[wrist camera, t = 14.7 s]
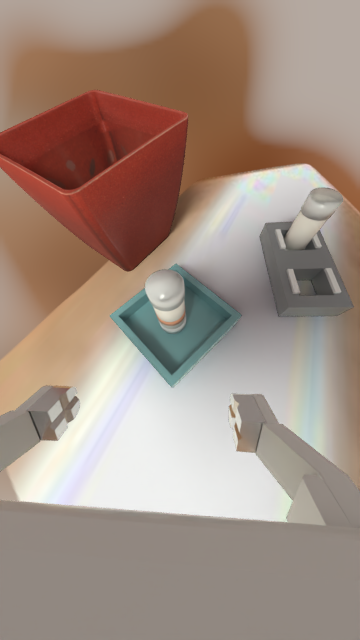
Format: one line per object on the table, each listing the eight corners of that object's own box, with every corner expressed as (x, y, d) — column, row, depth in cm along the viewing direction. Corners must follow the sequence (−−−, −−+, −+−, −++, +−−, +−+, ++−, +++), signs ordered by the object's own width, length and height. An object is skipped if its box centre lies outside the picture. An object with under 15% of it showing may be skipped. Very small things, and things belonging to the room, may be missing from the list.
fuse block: (337, 315, 27) (356, 305, 23) (278, 316, 27) (290, 306, 24) (305, 235, 34) (317, 219, 31) (259, 236, 34) (266, 220, 31)
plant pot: (128, 294, 30) (65, 193, 15) (66, 249, 36) (-26, 141, 20) (191, 232, 36) (192, 112, 20) (129, 202, 41) (93, 88, 26)
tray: (236, 323, 27) (241, 315, 24) (173, 387, 24) (171, 387, 21) (177, 274, 32) (176, 263, 29) (117, 323, 28) (109, 315, 25)
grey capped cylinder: (191, 321, 27) (192, 284, 18) (172, 339, 26) (162, 310, 16) (173, 305, 28) (166, 263, 19) (155, 321, 27) (136, 285, 18)
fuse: (303, 252, 32) (348, 195, 23) (291, 264, 31) (333, 210, 22) (284, 241, 33) (319, 184, 24) (271, 252, 32) (303, 197, 23)
